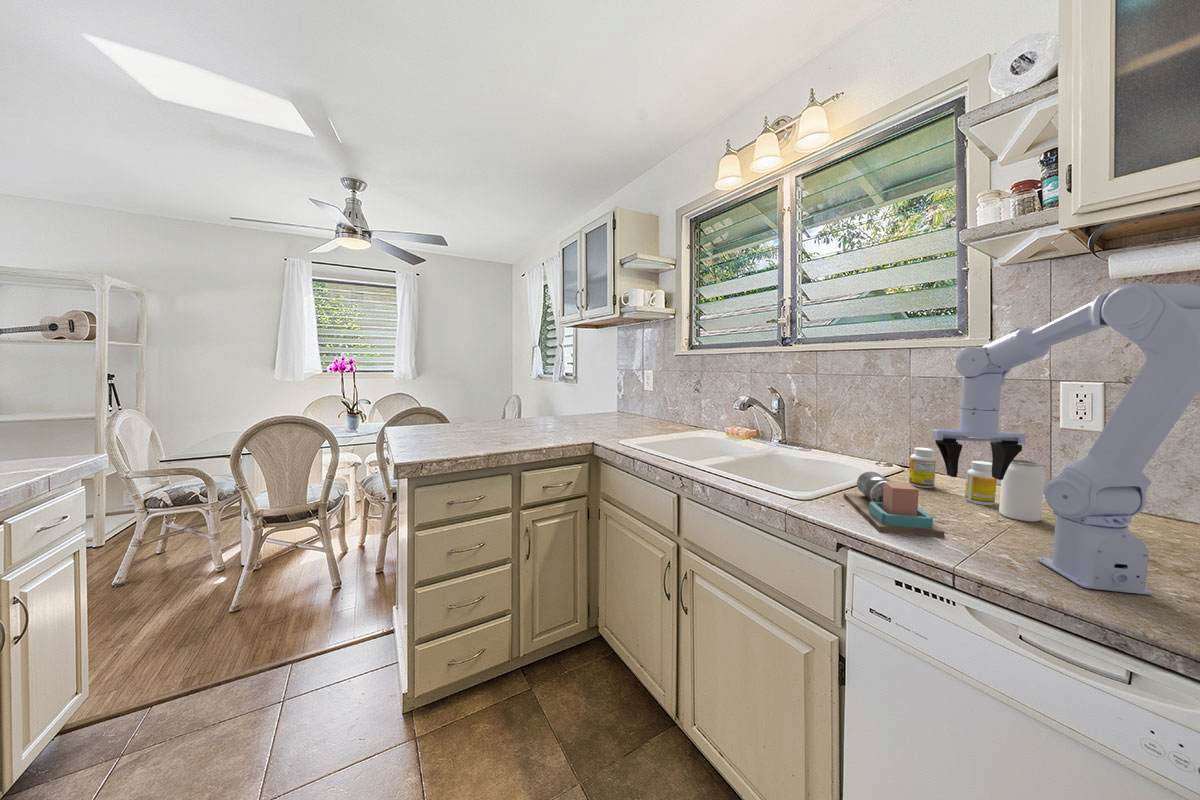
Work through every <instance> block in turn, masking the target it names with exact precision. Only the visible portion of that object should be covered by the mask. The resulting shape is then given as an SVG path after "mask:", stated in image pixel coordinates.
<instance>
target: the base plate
mask: <svg viewBox="0 0 1200 800" xmlns="http://www.w3.org/2000/svg"><path fill="white" fill-rule="evenodd" d="M843 498H844V499H845V500H846V501H847V502H848V503H849V504H850V505H851V506H852V507H853V508H854V509H856V511H858V513H859V514H860V515H861V516H862V517H864V519H866V521H868V522H869V524H871V525H872V526H873V527H874V528H875V529H876V530H877V531H878V532H883V533H884V532H885V533H894V534H907V535H916V536H917V535H918V536H929V537H940V538H945V533H946V532H945V531H944V530H942V529H941V528H940V527H938V526H937V524H934V523H933V524H932V529H927V528H915V527H903V526H891V525H886V524H884V523H881V522H880V521H879V520H877V519H876V518H875V517H874V516H873V515H872V514H871V513H870V512H869V503H870V501H871V500H870V499H869V498H867V497H866V496H865V495H864V494H863V493H851V492H850V493H848V492H843ZM871 502H872V501H871Z"/></svg>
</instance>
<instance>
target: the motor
mask: <svg viewBox="0 0 1200 800" xmlns="http://www.w3.org/2000/svg"><path fill="white" fill-rule="evenodd" d="M884 482H892V483H895V482H894V481H892V480H891V481H890V480H889V479H888V478H886V477H884V476H883V475H881V474H880V473H878V472H876V471H866V472H863V473H861V474H860V475H859V477H858V478H857V481H856V486H857V489H858V490H859V492H860V494H864V495H865V496H866V497H867V498H869V499H870V500H871V501H872V502H883V492H884Z"/></svg>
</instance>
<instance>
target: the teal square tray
mask: <svg viewBox="0 0 1200 800" xmlns="http://www.w3.org/2000/svg"><path fill="white" fill-rule="evenodd" d="M882 509H883V502H871V501H870V503H869V512H870V513H871V514H872V515H873V516H874V517H875V518H876V519H877V520H879V521H880V522H881V523H884V524H886V525H891V526H903V527H915V528H927V529H932V524H934V523H933V521H934V516H932V515H931V514H929V513H928V512H926V511H924V510H923V509H921V508H920V507H918V510H917V516H910V515H897V514H887V513H886V512H885V511H884V510H882Z"/></svg>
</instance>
